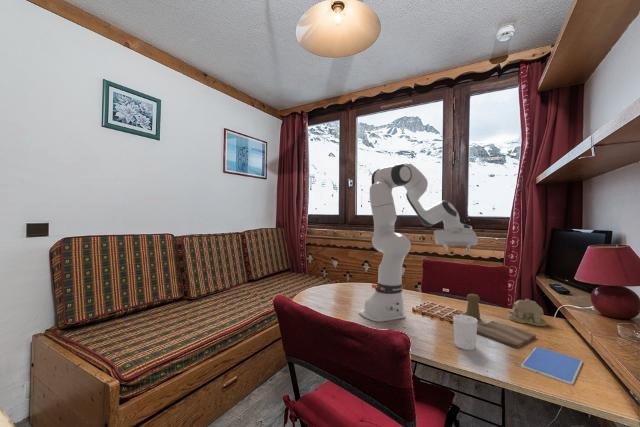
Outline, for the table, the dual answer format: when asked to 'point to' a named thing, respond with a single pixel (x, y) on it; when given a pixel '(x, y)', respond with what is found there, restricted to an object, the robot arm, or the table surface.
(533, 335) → the walnut board
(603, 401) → the table surface
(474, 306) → the olive green waisted column
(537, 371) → the tablet computer
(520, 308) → the ceramic model
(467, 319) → the white cup
